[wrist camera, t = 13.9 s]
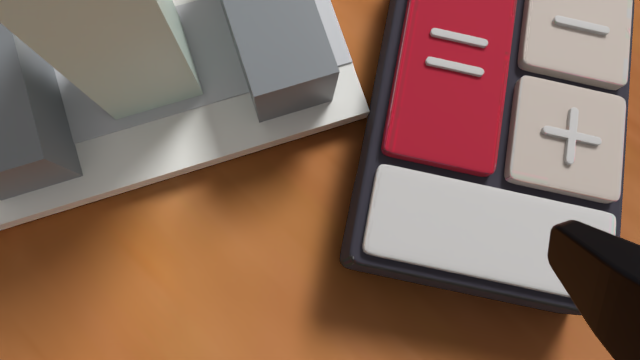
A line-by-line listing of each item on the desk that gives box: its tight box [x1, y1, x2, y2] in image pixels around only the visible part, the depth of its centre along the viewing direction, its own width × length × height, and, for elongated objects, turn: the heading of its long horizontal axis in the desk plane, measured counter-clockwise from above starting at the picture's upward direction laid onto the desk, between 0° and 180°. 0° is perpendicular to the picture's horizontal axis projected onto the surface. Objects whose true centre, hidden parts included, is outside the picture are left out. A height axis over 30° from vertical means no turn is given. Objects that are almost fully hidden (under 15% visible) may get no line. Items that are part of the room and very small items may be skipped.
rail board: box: [0, 0, 370, 230], centre depth 21 cm, size 18×10×4 cm, turn 109°
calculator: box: [340, 0, 634, 315], centre depth 23 cm, size 11×4×15 cm
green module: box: [0, 0, 203, 120], centre depth 18 cm, size 4×4×10 cm
